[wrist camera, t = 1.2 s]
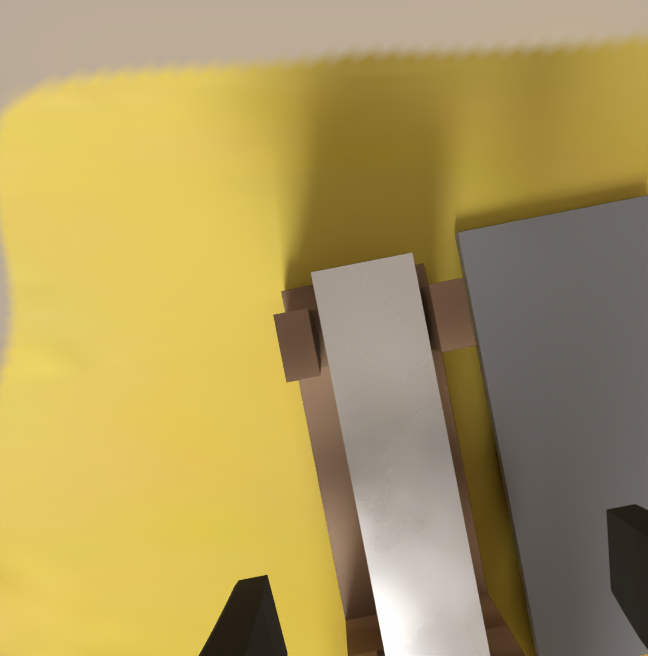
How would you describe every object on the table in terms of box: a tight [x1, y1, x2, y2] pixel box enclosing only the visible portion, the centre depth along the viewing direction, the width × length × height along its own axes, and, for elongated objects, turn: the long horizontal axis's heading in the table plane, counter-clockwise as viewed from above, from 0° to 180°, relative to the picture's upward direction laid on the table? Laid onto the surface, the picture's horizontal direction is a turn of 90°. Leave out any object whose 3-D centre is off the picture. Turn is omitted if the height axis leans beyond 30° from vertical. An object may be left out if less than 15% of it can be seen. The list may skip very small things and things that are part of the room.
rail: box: [311, 253, 490, 656], centre depth 18 cm, size 16×3×3 cm, turn 11°
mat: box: [455, 195, 648, 656], centre depth 22 cm, size 18×8×1 cm, turn 11°
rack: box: [273, 264, 525, 656], centre depth 19 cm, size 16×6×6 cm, turn 11°
